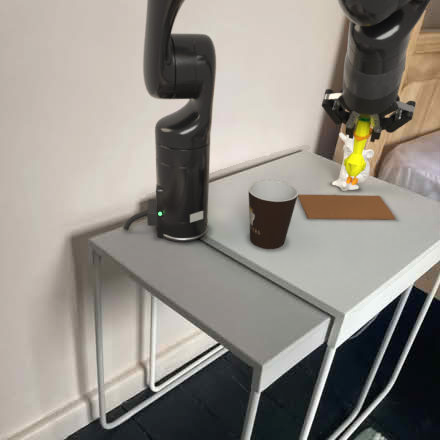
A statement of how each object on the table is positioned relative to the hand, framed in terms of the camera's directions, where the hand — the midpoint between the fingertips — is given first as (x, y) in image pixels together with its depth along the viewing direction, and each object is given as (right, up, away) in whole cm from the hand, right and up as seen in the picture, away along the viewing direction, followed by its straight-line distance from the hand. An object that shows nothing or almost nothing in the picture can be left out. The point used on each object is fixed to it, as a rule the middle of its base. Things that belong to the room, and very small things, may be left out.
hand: (363, 134), depth 82 cm
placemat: (+3, -8, +22) cm, 24 cm away
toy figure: (-1, -7, +3) cm, 8 cm away
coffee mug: (-14, -16, +11) cm, 24 cm away
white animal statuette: (+5, -3, +31) cm, 31 cm away
